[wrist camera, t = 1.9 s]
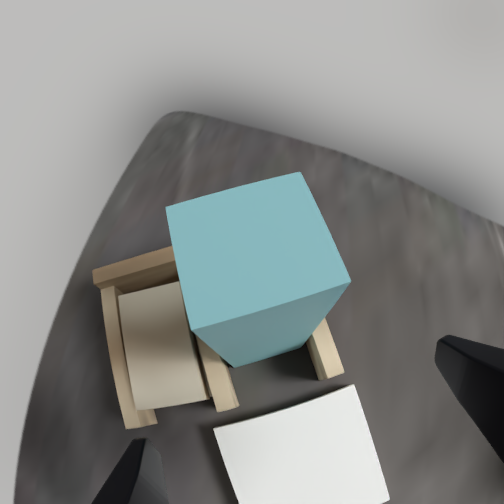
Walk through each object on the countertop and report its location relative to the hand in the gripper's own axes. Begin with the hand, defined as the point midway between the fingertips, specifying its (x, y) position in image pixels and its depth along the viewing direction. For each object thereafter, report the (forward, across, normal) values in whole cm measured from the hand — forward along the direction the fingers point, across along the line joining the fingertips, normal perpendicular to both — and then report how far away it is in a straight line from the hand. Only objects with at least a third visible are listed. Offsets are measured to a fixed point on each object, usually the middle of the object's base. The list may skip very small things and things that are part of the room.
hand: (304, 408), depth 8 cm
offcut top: (+10, +6, +4) cm, 13 cm away
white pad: (+4, 0, +12) cm, 13 cm away
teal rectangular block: (+12, 0, +5) cm, 13 cm away
